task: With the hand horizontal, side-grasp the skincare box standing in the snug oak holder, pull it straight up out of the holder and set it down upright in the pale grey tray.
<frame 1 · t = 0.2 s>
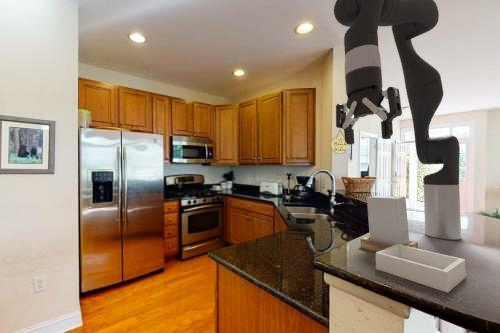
hand: (367, 141, 53), 29 cm above the countertop, tool pointing down, fingers open, 8 cm apart
skincare box: (388, 250, 64), resting in holder
holder: (388, 249, 64), on the countertop
tray: (418, 272, 49), on the countertop
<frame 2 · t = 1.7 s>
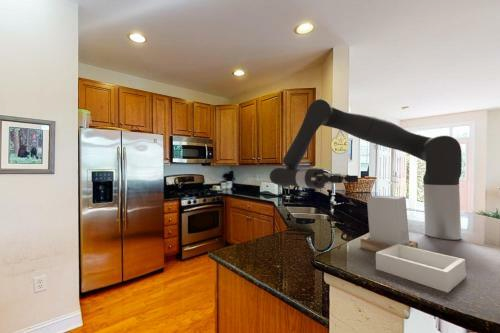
hand: (350, 179, 74), 19 cm above the countertop, tool horizontal, fingers open, 8 cm apart
nothing on the countertop moved.
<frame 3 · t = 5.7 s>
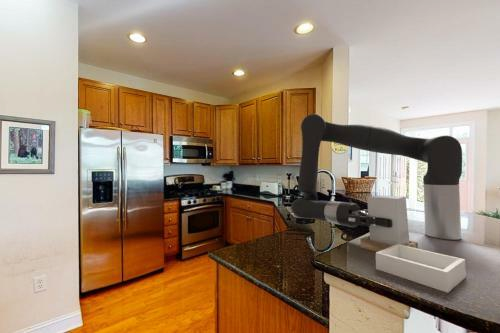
hand: (397, 221, 62), 8 cm above the countertop, tool horizontal, fingers closed on skincare box, 6 cm apart
skincare box: (388, 250, 64), resting in holder, touching gripper
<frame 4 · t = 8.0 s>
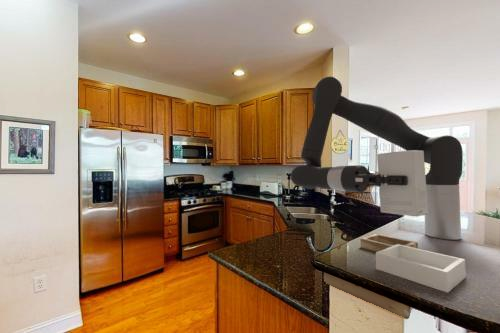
hand: (413, 180, 53), 20 cm above the countertop, tool horizontal, fingers closed on skincare box, 6 cm apart
skincare box: (402, 214, 55), point 11 cm above the countertop, touching gripper
when the fingers open (10 cm above the countertop, at t = 10.7 s): skincare box drops 1 cm, resting on tray.
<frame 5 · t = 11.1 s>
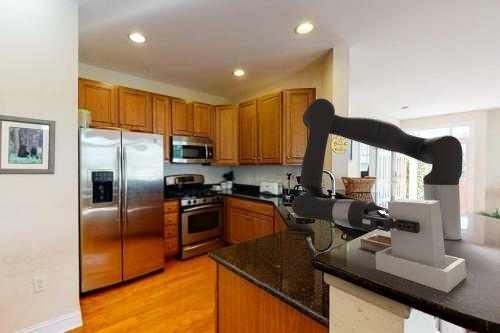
hand: (427, 225, 48), 10 cm above the countertop, tool horizontal, fingers open, 8 cm apart
skincare box: (417, 270, 49), resting on tray
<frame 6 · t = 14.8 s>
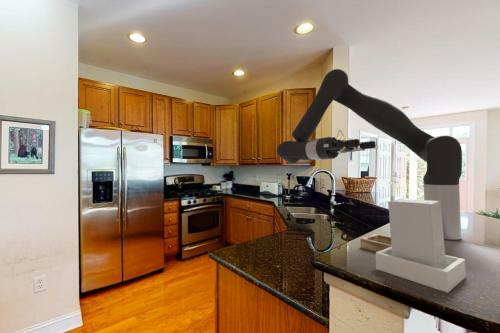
hand: (367, 143, 67), 30 cm above the countertop, tool horizontal, fingers open, 8 cm apart
nothing on the countertop moved.
at the end: skincare box inside the target area on the tray (0.3 cm from its centre), point 0.4 cm above the tray's base; skincare box tilted 0°; the gripper is holding nothing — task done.
